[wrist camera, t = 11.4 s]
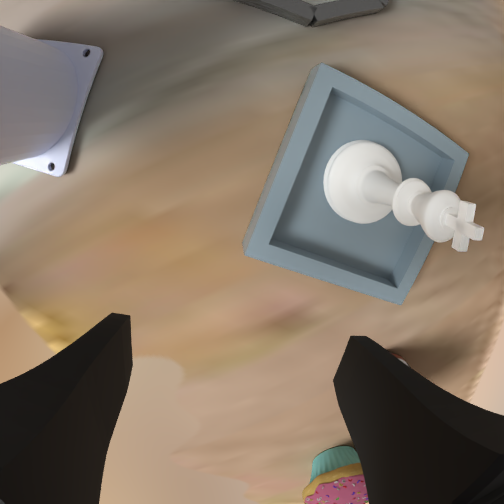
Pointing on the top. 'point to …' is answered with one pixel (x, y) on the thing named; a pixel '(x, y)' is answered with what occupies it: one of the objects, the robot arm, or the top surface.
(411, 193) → the chess piece
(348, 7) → the collar
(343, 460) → the cupcake
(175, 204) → the top surface
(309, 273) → the tray
